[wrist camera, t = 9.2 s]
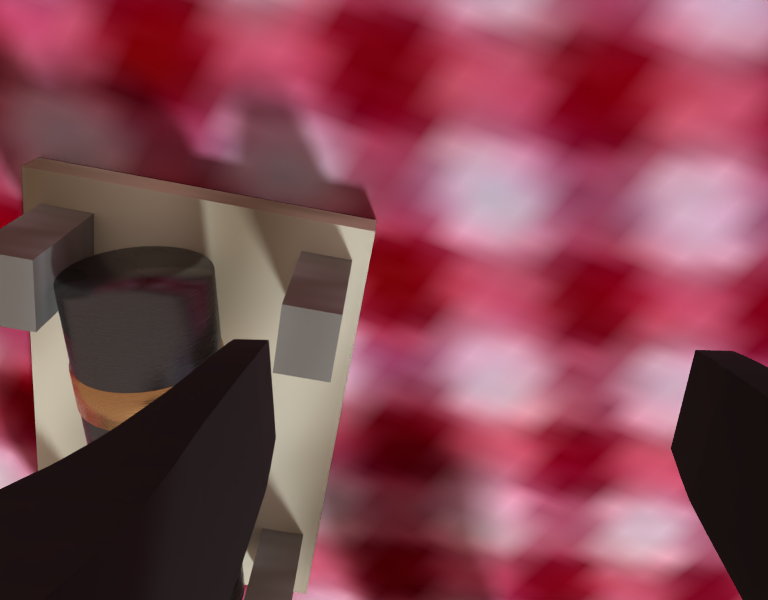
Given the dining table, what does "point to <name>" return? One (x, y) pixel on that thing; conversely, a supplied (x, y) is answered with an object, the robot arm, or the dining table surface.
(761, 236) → the dining table surface
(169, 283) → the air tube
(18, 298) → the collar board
